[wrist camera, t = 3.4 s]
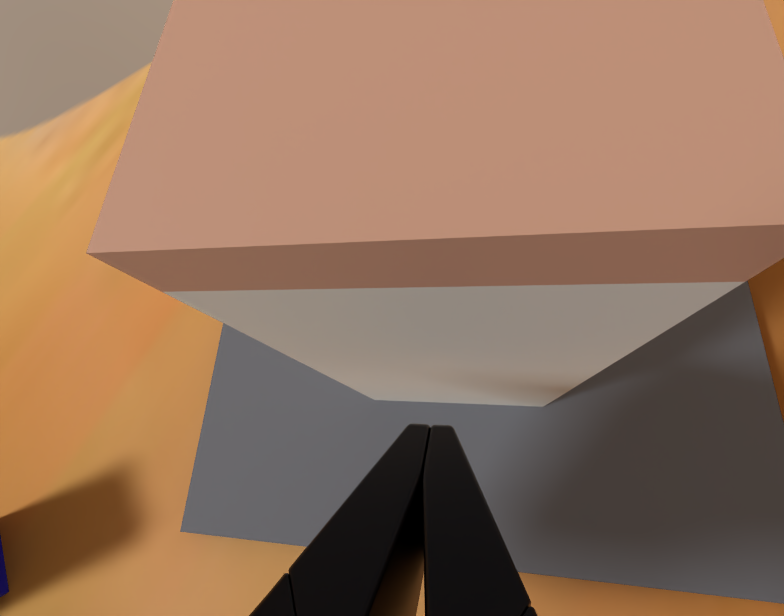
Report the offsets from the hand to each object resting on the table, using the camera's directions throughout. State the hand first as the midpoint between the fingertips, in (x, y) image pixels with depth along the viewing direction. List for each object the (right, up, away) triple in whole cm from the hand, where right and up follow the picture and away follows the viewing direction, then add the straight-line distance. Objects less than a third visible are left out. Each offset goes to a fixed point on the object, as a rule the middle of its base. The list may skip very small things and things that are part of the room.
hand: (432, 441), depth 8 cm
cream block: (+2, +1, +7) cm, 8 cm away
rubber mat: (+2, +6, +10) cm, 11 cm away
